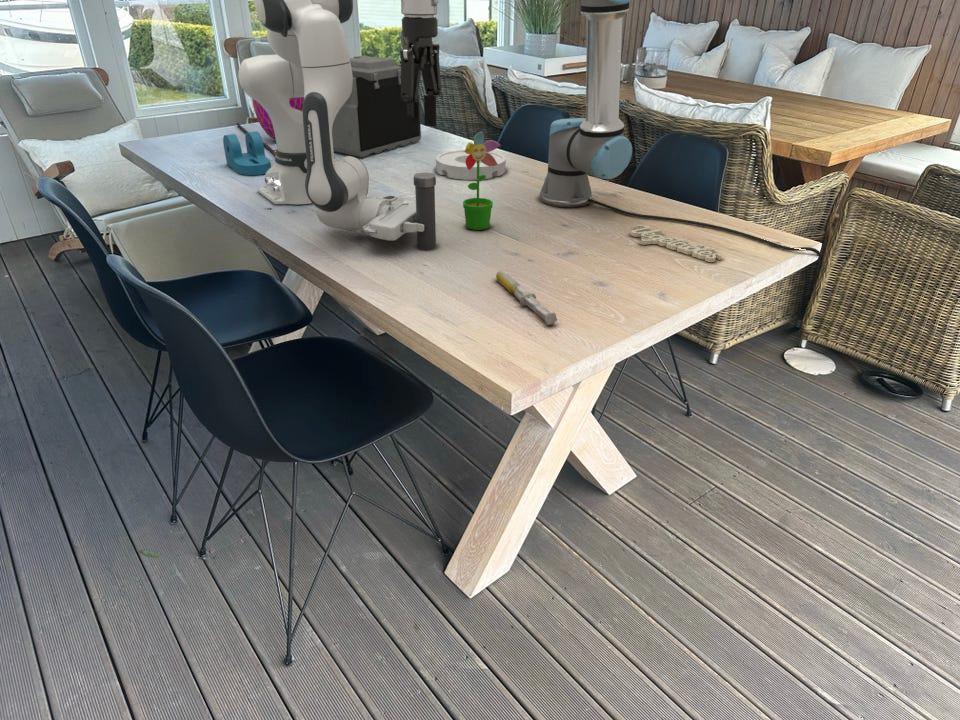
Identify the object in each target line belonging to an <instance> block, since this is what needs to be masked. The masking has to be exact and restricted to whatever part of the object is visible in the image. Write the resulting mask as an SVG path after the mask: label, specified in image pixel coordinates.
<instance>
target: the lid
mask: <svg viewBox="0 0 960 720" xmlns="http://www.w3.org/2000/svg"><path fill="white" fill-rule="evenodd" d="M436 184H437V177H436V174H435V173H432V172H418V173H415V174H414V175H413V186H414V187H415V186H416V187H421V188H428V187H433V186H435V187H436Z"/></svg>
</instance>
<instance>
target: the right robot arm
mask: <svg viewBox="0 0 960 720" xmlns="http://www.w3.org/2000/svg"><path fill="white" fill-rule="evenodd" d="M631 1H632V0H580V14H581V15H582V16H583V17H584V18H585V20H586V56H585V57H586V59H585V61H586V63H585V67H586V68H585V117H577V118H576V117H575V118H574V117H573V118H562V119H556V120H554V121H553V122H551V124H550V129H549V134H548V136H549V138H548V139H549V141H548V156H547V157H548V159H547V173H546V176H545V178H544V181H543V184H542V187H541V189H540V192H539V200H540V202H542V203H543V204H546V205H549V206H553V207H558V208H559V207H560V208H580V207H584V206H588V205H589V204H591V203H592V204H595V205H598V206H601V207H604V208H607V209H609V210H612V211H615V212H618V213H621V214H624V215H627V216H631V217H636V218H643V219H653V220H660V221H661V220H663V221H668V222H678V223H684V224H691V225H697V226H702V227H706V228H711V229H715V230H720V231H724V232H728V233H732V234H735V235H739V236H742V237H745V238H749V239H751V240H754V241H758V242H760V243H764V244H766V245H769V246H772V247H775V248H777V249H778V248H779V249H781V250H786V251H790V252H799V251H801V252H802V251H804V250H799V249H794V248H795V247H793V248H790V247H791V246H786V245H783V244H779V243H776V242H773V241H771V242H770V240H768V239H765V238H762V237H759V236H755V235H753V234H749V233H747V232H746V233H745V232H742V231H739V230H735V229H731V228H728V227H723V226H720V225H715V224H710V223H706V222H700V221H696V220H690V219H683V218H676V217H669V216H668V217H667V216H662V215H661V216H660V215H653V214H652V215H651V214H642V213H635V212H630V211H626V210H624V209H620V208H618V207H615V206H611V205H609V204H606V203H604V202H601V201H597V200H594V199H593V193H592V188H591V184H590V179H589V175H591V176H593V177H595V178H599V179H604V180H611V179H614V178H617V177H618V176H620V175H621V174H622V173H624V171H625V169H626V168H627V167H628V165H629V164H630V162H631V160H632V156H633V145H632V142H631V141H630V140H629V139H628V137H626V136H625V124H624V122H623V120H621V119H620V117H619V116H620V95H621V92H620V91H621V69H622V68H621V65H622V43H623V41H622V39H623V18H624V16H625V15H626V14H627V12H628V11H629V10H630V2H631ZM438 4H439V0H400V13H401V15H404V16H403V17H402V18H401V34H402V36H403V37H405V38H407V45H406V46H407V47H406V48H405V49H404V48H400V50H399V56H400V57H399V58H400V65H401V99H402V101H407V117H408V132H412V133H420V122H421V101H420V102H417V98H418V91H420V82H421V76H422V81H423V86H424V91H425V94H426V95H423V112H424V117H423V118H424V126H425V127H426V126H427V127H434V128H436V127H437V124H438V123H437V97H440V96H441V94H442V93H441V90H442V81H441V80H442V79H441V66H440V49H441V48H440V44H437V43H434V41H433V39H434V38H437V37H438V35H439V34H438V33H439V30H438V28H439V27H438V25H439V24H438V19H437V17H435V15H436V16H437V14H438ZM761 238H762V239H761ZM764 239H765V240H764ZM767 240H768V241H767ZM782 245H783V246H782ZM797 248H801V249H806V250H805V251H810V252H813V253H815V254H816V255H817V256H818V257H824V255H823V254H822V252H820V250H818V249H817V248H814V247H811V246H802V247H800V246H799V247H797Z"/></svg>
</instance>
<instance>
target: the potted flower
mask: <svg viewBox="0 0 960 720" xmlns="http://www.w3.org/2000/svg"><path fill="white" fill-rule="evenodd" d="M500 147H501V144H500V143H499V142H498V141H495V140H493V139H489V140H486V141H485V134H484V132H483V131H479V132H477V133H476V134H475V135H474V136H473V142H471V141H470V142H467V144H466V146H465V149H464V150H465V153H467V154H470V155H469V156H468V157H467V158H466V161H465V163H466V166H467V168H468V170H470V169H471V168H472V167H473V166H474V165H475V163H476V161H477V180H476V182H471V183H469V184H468V185H467V188H468V189H469V190H471V191H476V197H470V198H466V199H464V200H463V201H462V207H463V212H464V219H465V227H466V228H467V229H469V230H472V231H483V230H487V229H488V228H489V227H490V223H491V214H492V209H493V205H494V202H493V200H491V199H490V198H485V197H480V182H482V181H484V180H486V179H485V177H486V176H485V175H481V176H479V162H480V160H481V161H482V163H484V164H485V165H487V166H495V165H498V164H497V162H496V160H495V159H494V157H493V156H492V155H491V154H489V153H486V152H490V151H491V152H494V151H495V150H497V149H498V148H500Z"/></svg>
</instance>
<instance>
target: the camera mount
mask: <svg viewBox="0 0 960 720" xmlns="http://www.w3.org/2000/svg"><path fill="white" fill-rule="evenodd" d="M222 140H223V141H222V143H223V149H224V150H223V151H224V156H225V161H226V165H227V166H228V167H230V168H231V169H232V170H234V171H236V172H237V173H238V174H239V175H244V176H260V175H266V172H267V171H268V170H269V169H270V168H271V167H272V164H271V159H270V158H268V157H267V156H266V153H265V146H264V145H263V142H264V141H263V139H262V136H261V134H260V132H258V131H247V133H245V146H246V152H243V151H242V150H243V149H242V146H241V142H240V140H239V138H238V135H236V134H235V133H231V134H224V135H223V138H222Z"/></svg>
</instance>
